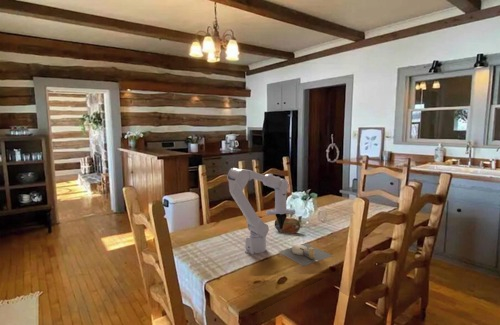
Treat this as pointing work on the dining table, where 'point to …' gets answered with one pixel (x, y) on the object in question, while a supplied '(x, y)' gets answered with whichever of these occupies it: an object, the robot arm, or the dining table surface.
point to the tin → (289, 225)
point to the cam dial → (303, 251)
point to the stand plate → (304, 259)
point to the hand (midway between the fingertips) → (280, 228)
